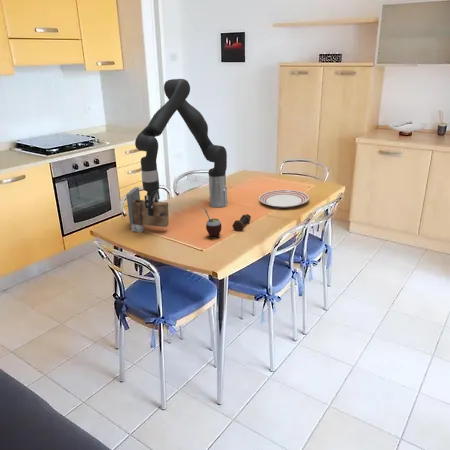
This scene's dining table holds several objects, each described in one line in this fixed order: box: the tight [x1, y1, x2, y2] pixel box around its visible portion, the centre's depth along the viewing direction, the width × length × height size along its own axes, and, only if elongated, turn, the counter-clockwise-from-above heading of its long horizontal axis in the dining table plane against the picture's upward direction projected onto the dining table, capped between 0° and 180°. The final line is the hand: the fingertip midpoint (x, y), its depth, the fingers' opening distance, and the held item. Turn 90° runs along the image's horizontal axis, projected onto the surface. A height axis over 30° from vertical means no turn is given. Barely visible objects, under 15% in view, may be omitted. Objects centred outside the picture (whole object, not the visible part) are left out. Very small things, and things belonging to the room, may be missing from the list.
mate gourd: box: [199, 206, 222, 240], centre depth 195 cm, size 8×8×15 cm
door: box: [132, 199, 170, 228], centre depth 203 cm, size 16×5×11 cm, turn 81°
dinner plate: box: [258, 189, 310, 209], centre depth 239 cm, size 27×27×3 cm
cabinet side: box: [125, 187, 144, 233], centre depth 210 cm, size 7×15×18 cm, turn 171°
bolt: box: [232, 213, 252, 232], centre depth 209 cm, size 6×5×15 cm
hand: (153, 212), depth 203 cm, fingers open, 8 cm apart
